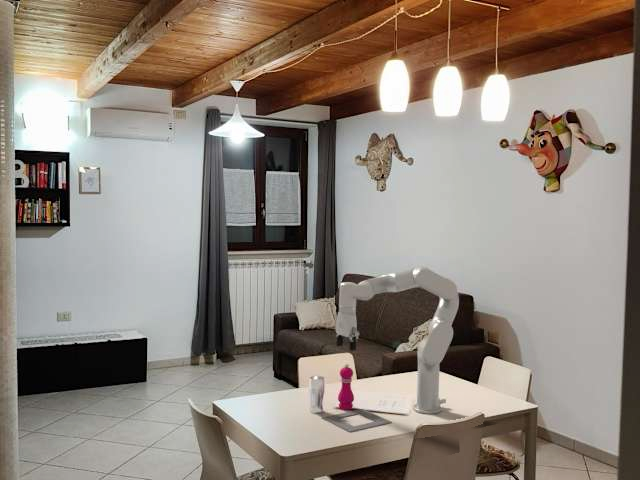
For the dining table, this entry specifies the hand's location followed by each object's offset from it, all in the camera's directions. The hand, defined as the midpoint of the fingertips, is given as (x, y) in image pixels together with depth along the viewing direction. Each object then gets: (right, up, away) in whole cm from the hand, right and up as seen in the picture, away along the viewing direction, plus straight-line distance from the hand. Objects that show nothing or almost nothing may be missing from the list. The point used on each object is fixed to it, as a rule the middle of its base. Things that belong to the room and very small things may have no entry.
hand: (346, 348), depth 287 cm
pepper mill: (0, -27, +2) cm, 27 cm away
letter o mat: (+4, -28, -15) cm, 32 cm away
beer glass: (-13, -27, -4) cm, 31 cm away
